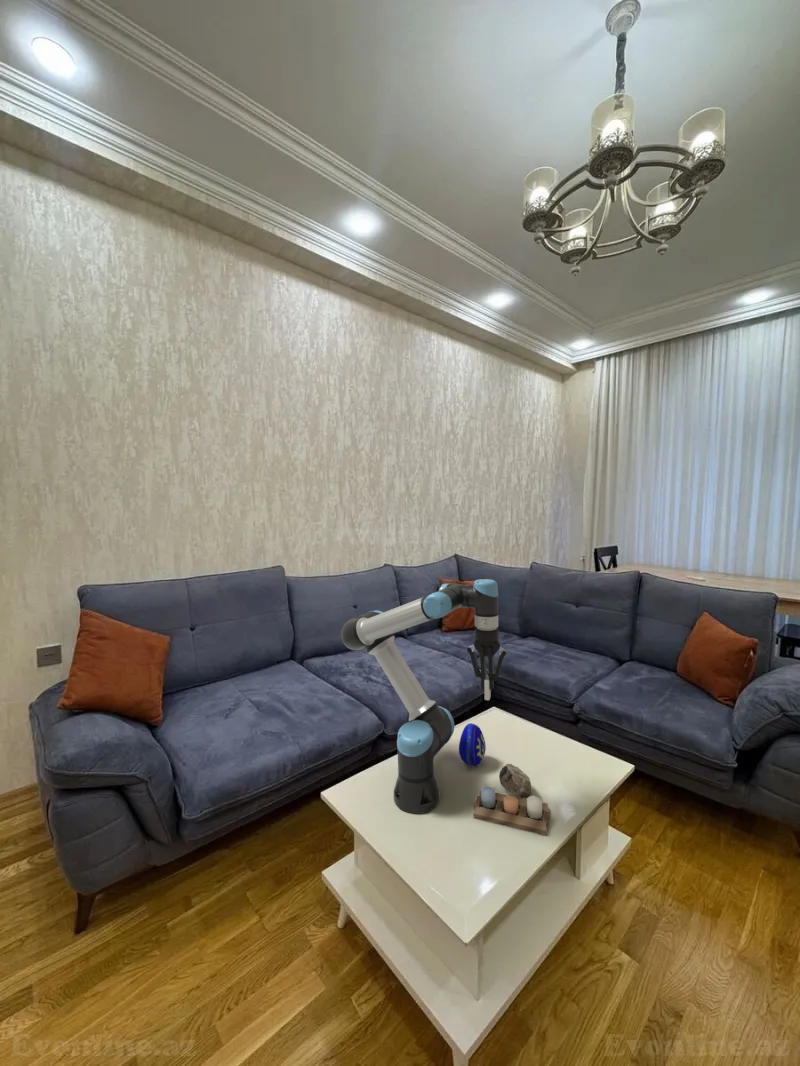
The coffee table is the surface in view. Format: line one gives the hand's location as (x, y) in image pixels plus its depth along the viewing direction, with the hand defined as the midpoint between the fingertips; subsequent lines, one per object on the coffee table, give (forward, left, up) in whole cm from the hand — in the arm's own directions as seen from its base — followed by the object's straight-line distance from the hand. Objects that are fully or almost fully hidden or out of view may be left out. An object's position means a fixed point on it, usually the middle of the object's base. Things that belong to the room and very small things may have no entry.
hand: (487, 698), depth 140 cm
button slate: (+1, -7, -31) cm, 32 cm away
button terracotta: (+8, -7, -32) cm, 34 cm away
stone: (+8, +4, -33) cm, 34 cm away
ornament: (-9, +15, -33) cm, 37 cm away
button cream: (+15, -7, -31) cm, 35 cm away
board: (+8, -7, -32) cm, 34 cm away
